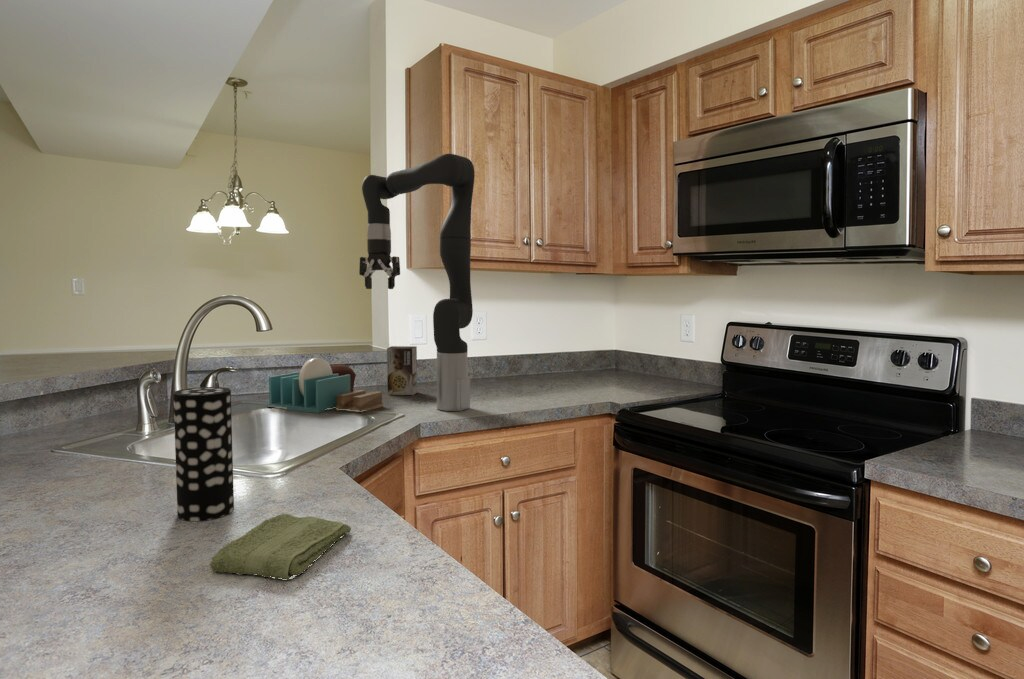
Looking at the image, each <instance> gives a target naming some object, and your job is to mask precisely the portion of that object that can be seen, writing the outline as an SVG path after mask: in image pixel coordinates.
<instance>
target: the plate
mask: <svg viewBox="0 0 1024 679" xmlns="http://www.w3.org/2000/svg"><path fill="white" fill-rule="evenodd" d="M331 366H332V365H330V363H329V362H328V360H326V359H324V358H321V357H320V358H319V357H313V358H312V357H311V358H309V359H308V360H307V361H306V362H305V363H304V364H303V365H302V367H301V370H300V371H299V372H300V374H299V389H300V392H301V394H302V395H303V397H304V380H306V379H311V378H316V377H322V376H327V375H332V369H331Z"/></svg>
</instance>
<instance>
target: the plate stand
mask: <svg viewBox="0 0 1024 679" xmlns="http://www.w3.org/2000/svg"><path fill="white" fill-rule="evenodd" d="M382 407H384V403H383V391H377V390H376V391H371V392H367V390H365V389H356V390H353V391H352V392H348V393H344V394H340V395H337V407H336V408H338V409H350V410H359V411H362V410H369V411H371V409H372V410H375V409H378V408H382ZM336 408H335V409H336Z"/></svg>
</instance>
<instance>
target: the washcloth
mask: <svg viewBox="0 0 1024 679" xmlns="http://www.w3.org/2000/svg"><path fill="white" fill-rule="evenodd" d="M351 530H352V528H351V526H350V525H348V524H345V523H343V522H341V521H337V520H336V521H333V520H328V519H323V518H320V517H315V516H312V515H311V516H302V517H300V516H294V515H292V514H289V513H281V514H277V515H275V516H273V517H270V518H267V519H265V520H263V521H262V522H261V523H260V524H258V525H256V526H255V527H254V528H251V529H250V530H248V532H246V533H245V534H244V535H242V536H240V537H238V538H236V539H234V540H231V542H230V543H228V544H226V545H225V546H223V547H222V548H219V549H218V551H217V552H216V553H215V555H213V556H212V557H211V561H210V563H209V564H208V566H209V568H210V569H211V570H212V572H215V573H217V572H218V573H221V572H228V573H227V574H232V573H238V574H247V575H249V574H257V575H263V576H265V577H270V576H271V577H275V578H282V579H289V578H290V577H291V576H293V575H298V574H301V573H302V572H303V571H304V570H306V569H307V570H308V569H309V568H308V566H309V565H311V564H312V562H313V561H314V560H316V559H317V558H318V557H319V556H320V555H321V554H322V553H323V552H324V551H325V550H327V549H328V550H330V546H331V545H332V544H333V543H334V542H336V541H337V540H338V541H340V540H339V539H340V537H341V536H342V535H345V536H346V534H347V533H350V532H351ZM328 550H327V551H328ZM307 570H306V571H307ZM238 574H237V575H238ZM301 575H302V574H301ZM263 576H262V577H263ZM298 576H299V575H298Z"/></svg>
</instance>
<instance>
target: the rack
mask: <svg viewBox="0 0 1024 679" xmlns="http://www.w3.org/2000/svg"><path fill="white" fill-rule="evenodd" d="M299 374H300V371H296V372H295V371H294V372H290V373H283V374H278V375H272V376H269V377H268V393H269V395H268V398H269V402H268V403H267V404H266V405H275V406H282V407H287V409H286V410H288V411H298V412H306V413H316V414H319V413H323V412H325V411H324V410H325V409H327V408H333V407H337V395H340V394H344V393H348V392H350V375H343V376H339V374H332V375H327V376H322V377H316V378H311V379H306V380H304V397H303V395H302V394H301V392H300V389H299Z"/></svg>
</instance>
